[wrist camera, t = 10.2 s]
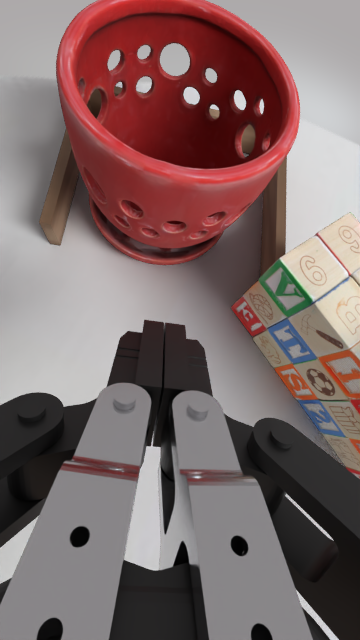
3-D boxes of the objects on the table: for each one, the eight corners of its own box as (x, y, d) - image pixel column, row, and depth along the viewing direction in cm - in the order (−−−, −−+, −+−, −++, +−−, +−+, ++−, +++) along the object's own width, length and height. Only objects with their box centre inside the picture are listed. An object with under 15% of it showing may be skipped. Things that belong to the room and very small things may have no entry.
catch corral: (50, 243, 24) (38, 222, 21) (86, 111, 28) (80, 78, 25) (268, 281, 26) (285, 266, 23) (272, 152, 30) (287, 126, 27)
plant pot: (117, 302, 24) (102, 207, 12) (69, 168, 26) (19, -11, 15) (258, 257, 27) (350, 148, 15) (202, 142, 29) (245, -25, 18)
